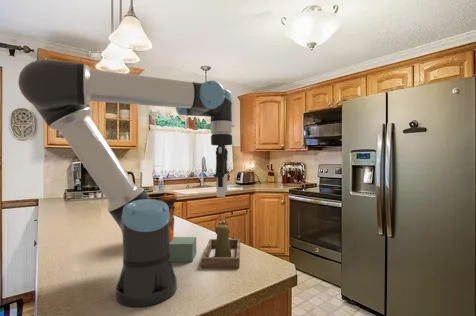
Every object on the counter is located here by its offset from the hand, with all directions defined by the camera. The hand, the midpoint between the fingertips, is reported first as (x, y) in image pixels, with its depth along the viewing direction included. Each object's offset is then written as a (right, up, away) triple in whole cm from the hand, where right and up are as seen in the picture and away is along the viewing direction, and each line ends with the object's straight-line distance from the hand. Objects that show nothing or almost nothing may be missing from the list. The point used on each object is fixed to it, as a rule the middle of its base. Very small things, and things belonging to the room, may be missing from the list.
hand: (222, 194), depth 95 cm
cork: (0, -22, 0) cm, 22 cm away
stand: (-14, -22, -1) cm, 26 cm away
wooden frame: (0, -22, 0) cm, 22 cm away
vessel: (-27, -23, +17) cm, 39 cm away
